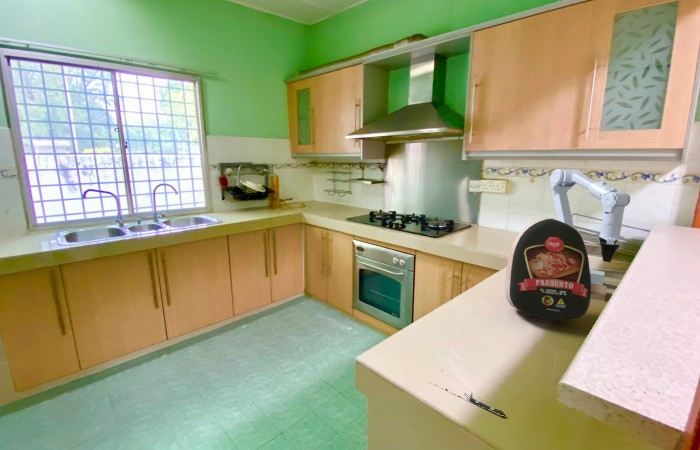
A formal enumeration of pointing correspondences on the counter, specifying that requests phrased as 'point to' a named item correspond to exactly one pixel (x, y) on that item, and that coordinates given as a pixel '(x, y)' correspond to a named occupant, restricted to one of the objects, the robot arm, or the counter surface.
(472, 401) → the chef's knife
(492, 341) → the counter surface
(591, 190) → the robot arm
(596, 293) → the walnut block
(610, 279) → the counter surface
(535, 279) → the packaged food
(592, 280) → the grey cube
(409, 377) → the counter surface
